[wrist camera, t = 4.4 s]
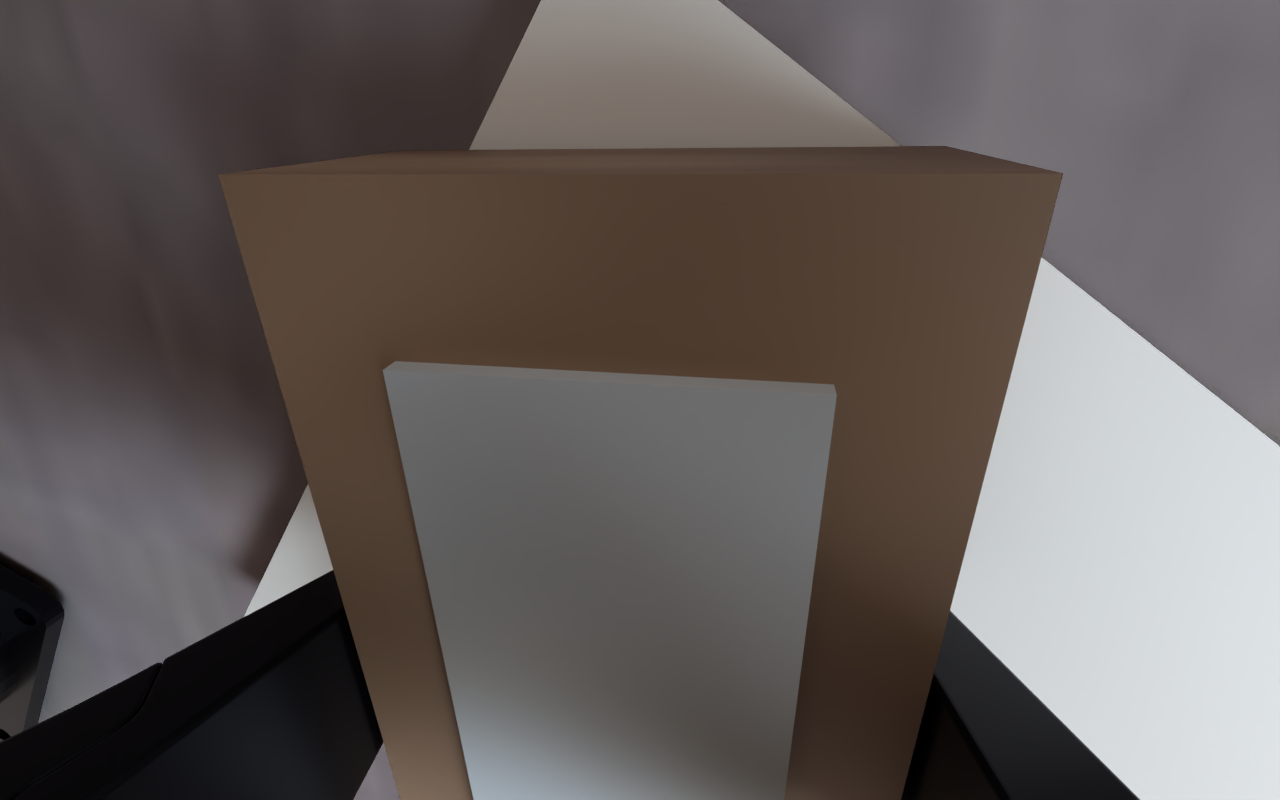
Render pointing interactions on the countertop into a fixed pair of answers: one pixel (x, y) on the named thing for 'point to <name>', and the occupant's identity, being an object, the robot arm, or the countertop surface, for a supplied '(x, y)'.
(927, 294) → the frame
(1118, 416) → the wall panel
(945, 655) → the robot arm
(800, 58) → the countertop surface
